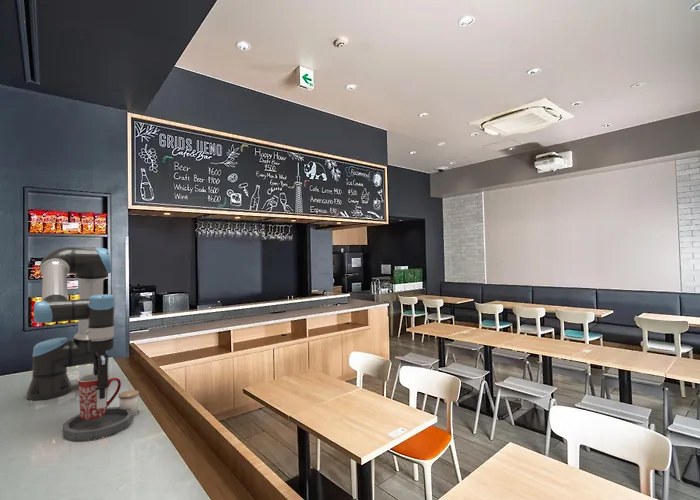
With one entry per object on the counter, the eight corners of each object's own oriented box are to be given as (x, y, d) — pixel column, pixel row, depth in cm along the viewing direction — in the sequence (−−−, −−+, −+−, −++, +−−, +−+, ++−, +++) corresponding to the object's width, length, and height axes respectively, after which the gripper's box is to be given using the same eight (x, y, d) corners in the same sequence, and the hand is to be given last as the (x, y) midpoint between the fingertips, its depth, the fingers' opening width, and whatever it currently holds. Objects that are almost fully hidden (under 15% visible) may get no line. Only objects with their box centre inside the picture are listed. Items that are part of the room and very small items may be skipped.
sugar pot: (116, 413, 139) (117, 392, 139) (136, 408, 143) (136, 388, 144) (120, 419, 134) (120, 397, 134) (140, 414, 138) (140, 393, 139)
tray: (61, 425, 129) (61, 417, 129) (126, 410, 142) (126, 402, 142) (64, 448, 114) (65, 438, 114) (137, 428, 127) (137, 420, 127)
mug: (77, 424, 120) (77, 383, 121) (76, 414, 127) (77, 376, 128) (121, 414, 128) (122, 375, 128) (119, 405, 135) (119, 369, 135)
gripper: (84, 335, 134) (83, 397, 133) (91, 345, 118) (90, 416, 117) (108, 332, 139) (107, 392, 138) (118, 342, 123) (117, 410, 122)
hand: (99, 403), depth 128 cm, fingers closed on mug, 8 cm apart
